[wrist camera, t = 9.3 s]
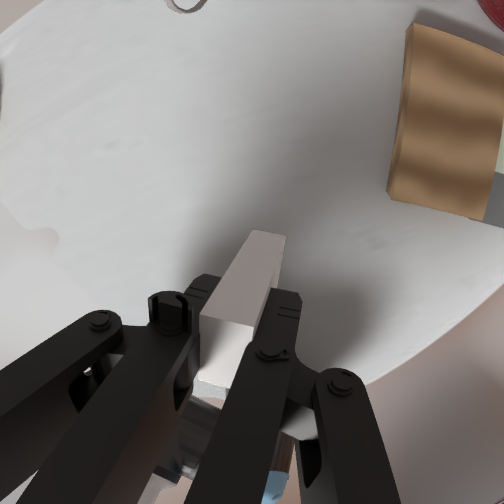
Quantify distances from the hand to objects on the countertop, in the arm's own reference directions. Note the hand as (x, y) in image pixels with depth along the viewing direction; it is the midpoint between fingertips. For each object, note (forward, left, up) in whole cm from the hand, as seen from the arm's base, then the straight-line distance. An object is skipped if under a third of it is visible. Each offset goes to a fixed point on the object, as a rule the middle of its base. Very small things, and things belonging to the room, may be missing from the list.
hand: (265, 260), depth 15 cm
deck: (+9, -16, -25) cm, 31 cm away
